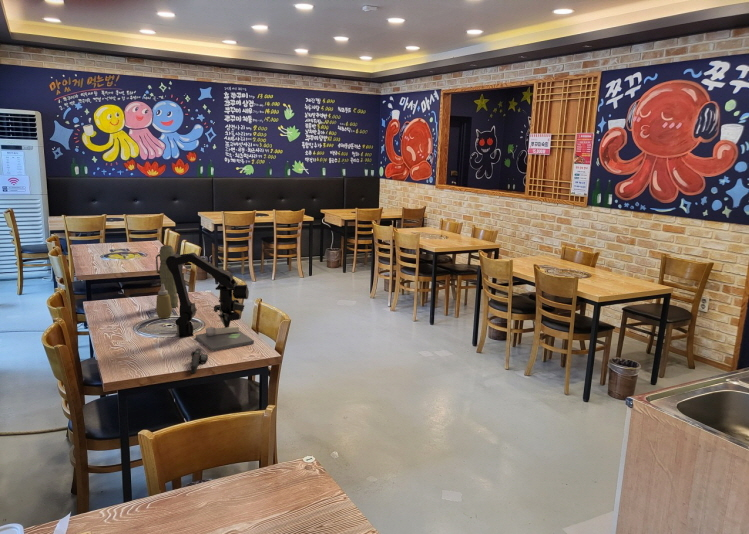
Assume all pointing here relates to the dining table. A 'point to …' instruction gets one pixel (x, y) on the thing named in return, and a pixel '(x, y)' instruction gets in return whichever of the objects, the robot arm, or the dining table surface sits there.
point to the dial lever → (221, 330)
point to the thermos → (167, 274)
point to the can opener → (197, 359)
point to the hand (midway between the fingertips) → (227, 329)
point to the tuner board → (224, 340)
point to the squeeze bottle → (163, 303)
